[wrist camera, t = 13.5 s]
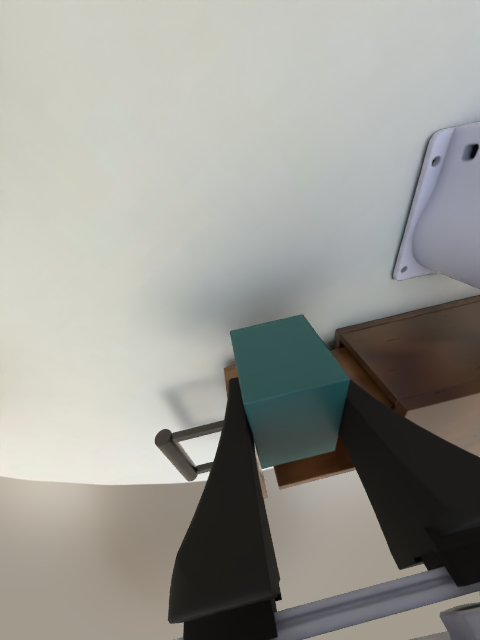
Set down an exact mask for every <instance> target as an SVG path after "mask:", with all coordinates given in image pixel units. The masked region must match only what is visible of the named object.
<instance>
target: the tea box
mask: <svg viewBox="0 0 480 640" xmlns="http://www.w3.org/2000/svg"><path fill="white" fill-rule="evenodd" d="M230 335H231V340H232V346H233V351H234V356H235V362H236V367H237V372H238V378H239V383H240V389H241V394H242V399H243V404H244V408H245V412H246V415H247V419H248V422H249V426H250V429H251V433H252V437H253V440H254V444H255V447H256V451H257V454H258V458H259V462H260V465H261V468H262V469H264V468H268V467H272V466H276V465H280V464H284V463H288V462H292V461H296V460H300V459H304V458H308V457H312V456H316V455H320V454H324V453H328V452H332V451H334V450H335V447H336V443H337V438H338V433H339V428H340V424H341V419H342V414H343V409H344V405H345V400H346V395H347V390H348V386H349V381H350V379H349V377H348V375H347V374H346V373H345V371H344V370H343V369H342V367H341V366H340V364H339V363H338V362H337V360H336V359H335V358H334V356H333V355H332V354H331V352H330V351H329V349H328V348H327V347H326V345H325V344H324V343H323V341H322V340H321V338H320V337H319V336H318V334H317V333H316V332H315V330H314V329H313V328H312V326H311V325H310V323H309V322H308V321H307V319H306V318H305V317H304V315H297V316H293V317H289V318H284V319H280V320H276V321H271V322H267V323H263V324H259V325H254V326H250V327H246V328H241V329H237V330H233V331H230Z"/></svg>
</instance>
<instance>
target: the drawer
mask: <svg viewBox="0 0 480 640" xmlns="http://www.w3.org/2000/svg"><path fill="white" fill-rule="evenodd" d="M330 352H331V354H332V355H333V356H334V358H335V359H336V360H337V362H338V363H339V364H340V366H341V367H342V369H343V370H344V371H345V373H346V374H347V375H348V377H349V378H350V379H351V380H352V381H354V382H355V383H356V384H357V385H359V386H360V387H361V388H363V389H364V390H365V391H367V392H368V393H369V394H371V395H372V396H373V397H375V398H376V399H378V400H379V401H381V402H382V403H383V404H385V405H386V406H388V407H389V408H391V409H392V410H395V408H396V406H395V405H394V404H393V403H392V401H391V400H390V399H389V398H388V397H387V395H386V394H385V393H384V392H383V391H382V390H381V388H380V387H379V386H378V385H377V384H376V383H375V381H374V380H373V379H372V378H371V377H370V375H369V374H368V373H367V372H366V371H365V370H364V368H363V367H362V366H361V365H360V364H359V362H358V361H357V360H356V359H355V358H354V357H353V355H352V354H351V353H350V352H349V351H348V349H347V348H346V347H343V348H339V349H335V350H330ZM224 374H225V382H226V390H227V398H228V389H229V380H230V379H231V378H235V377H238V372H237V367H236V365H235V366H231V367H227V368H224ZM223 424H224V420H223V421H219V422H215V423H211V424H207V425H203V426H199V427H195V428H191V429H187V430H183V431H178V432H174V433H173V434H172V433H171V431H170V430H168V429H163V430H161V431H160V432H159V433H158V434H157V435H156V437H155V444H156V446H157V447H158V448H159V449H160V450H161V451H162V452H163V454H164V455H165V456H166V457H167V458H168V459H169V460H170V462H171V463H172V464H173V465H174V466H175V467H176V468H177V470H178V471H179V472H180V473H181V474H182V475H183V476H184V478H185V479H186V480H187V481H193V480H194V479H195V478H196V477H197V475H198V474H200V473H204V472H208V471H211V468H212V465H213V462H210V463H206V464H202V465H198V466H196V465H195V464H194V463H193V461H192V460H191V459H190V457H189V456H188V455H187V453H186V452H185V450H184V449H183V448H182V446H181V445H180V444H179V441H183V440H187V439H191V438H195V437H199V436H204V435H208V434H212V433H216V432H220V431H222V428H223ZM254 447H255V444H254ZM255 455H256V462H257V469H258V474H259V479H260V484H261V489H262V494H263V499H265V498H267V497H268V496H267V491H266V486H265V482H264V477H263V472H262V468H261V465H260V462H259V458H258V454H257V451H256V447H255ZM274 470H275V474H276V478H277V482H278V486H279V489H284V488H288V487H292V486H296V485H299V484H303V483H307V482H311V481H315V480H319V479H323V478H327V477H330V476H334V475H338V474H342V473H346V472H350V471H354V470H356V468H355V466H354V464H353V462H352V460H351V458H350V455H349V453H348V451H347V449H346V447H345V445H344V443H343V441H342V439H341V438H340V436H339V434H338V438H337V443H336V447H335V450H334V451H332V452H328V453H324V454H320V455H316V456H312V457H308V458H304V459H300V460H296V461H292V462H288V463H284V464H280V465H276V466H274Z"/></svg>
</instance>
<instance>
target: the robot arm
mask: <svg viewBox="0 0 480 640" xmlns="http://www.w3.org/2000/svg"><path fill="white" fill-rule="evenodd" d="M434 158H435V160H434V163H433V164H432V161H433V159H434ZM435 272H439V273H441V274H444V275H446V276H449V277H451V278H454V279H456V280H459V281H461V282H464V283H466V284H468V285H471V286H473V287H476V288H478V289H480V122H475V123H470V124H466V125H461V126H456V127H452V128H447V129H442V130H439V131H437V132H436V133H435V134H433V136H432V137H431V139H430V142H429V145H428V148H427V152H426V156H425V159H424V163H423V167H422V170H421V174H420V178H419V181H418V185H417V189H416V192H415V196H414V200H413V203H412V207H411V211H410V214H409V218H408V222H407V226H406V229H405V233H404V237H403V240H402V244H401V248H400V251H399V255H398V259H397V262H396V266H395V270H394V273H393V278H394V279H395V280H397V281H401V280H405V279H409V278H414V277H418V276H422V275H427V274H431V273H435ZM349 379H350V378H349ZM338 434H339V436H340V438H341V439H342V441H343V443H344V445H345V447H346V449H347V451H348V453H349V455H350V458H351V460H352V462H353V464H354V466H355V468H356V470H357V473H358V475H359V477H360V479H361V482H362V484H363V486H364V488H365V491H366V493H367V495H368V498H369V500H370V502H371V505H372V507H373V509H374V512H375V514H376V517H377V519H378V522H379V524H380V526H381V529H382V531H383V534H384V536H385V539H386V541H387V544H388V546H389V549H390V552H391V554H392V556H393V558H394V560H395V562H396V564H397V566H398V568H399V569H400V570H401V569H405V568H409V567H413V566H416V565H420V564H425V566H426V568H427V570H428V571H426V572H422V573H419V574H415V575H411V576H407V577H403V578H400V579H396V580H393V581H389V582H385V583H381V584H378V585H374V586H370V587H367V588H363V589H359V590H356V591H352V592H348V593H344V594H341V595H337V596H333V597H330V598H326V599H322V600H319V601H315V602H311V603H307V604H304V605H301V606H297V607H293V608H289V609H285V610H282V611H278V612H277V610H276V603H275V601H278V600H282V598H281V592H280V587H279V581H280V576H279V572H278V567H277V562H276V557H275V552H274V548H273V543H272V538H271V533H270V528H269V524H268V519H267V514H266V509H265V504H264V499H263V494H262V489H261V484H260V479H259V474H258V469H257V462H256V455H255V447H254V440H253V437H252V433H251V429H250V426H249V422H248V419H247V415H246V412H245V408H244V404H243V399H242V394H241V389H240V383H239V378H238V377H235V378H231V379H230V380H229V389H228V400H227V407H226V413H225V419H224V424H223V428H222V432H221V437H220V441H219V445H218V448H217V452H216V455H215V459H214V462H213V465H212V468H211V471H210V474H209V477H208V480H207V483H206V486H205V489H204V491H203V494H202V496H201V499H200V501H199V504H198V506H197V509H196V512H195V514H194V516H193V519H192V521H191V524H190V526H189V528H188V530H187V533H186V535H185V537H184V539H183V542H182V544H181V546H180V549H179V551H178V553H177V556H176V560H175V565H174V569H173V574H172V580H171V587H170V597H169V612H168V621H169V623H182V622H184V633H183V637H182V638H178V639H174V640H303V639H306V638H310V637H313V636H317V635H321V634H324V633H328V632H332V631H335V630H339V629H342V628H346V627H349V626H353V625H357V624H360V623H364V622H367V621H371V620H375V619H379V618H382V617H386V616H389V615H393V614H397V613H401V612H404V611H408V610H411V609H415V608H419V607H422V606H426V605H430V604H433V603H437V602H440V601H444V600H448V599H451V598H455V597H458V596H462V595H466V594H470V593H473V592H477V591H480V457H478V456H476V455H474V454H472V453H470V452H468V451H466V450H464V449H462V448H460V447H458V446H456V445H454V444H452V443H450V442H448V441H446V440H444V439H442V438H441V437H439V436H437V435H435V434H433V433H431V432H430V431H428V430H426V429H424V428H422V427H420V426H419V425H417V424H415V423H414V422H412V421H410V420H409V419H407V418H405V417H404V416H402V415H400V414H399V413H397V412H396V411H394V410H392V409H391V408H389V407H388V406H386V405H385V404H383V403H382V402H381V401H379V400H378V399H376V398H375V397H373V396H372V395H371V394H369V393H368V392H367V391H365V390H364V389H363V388H361V387H360V386H359V385H357V384H356V383H355V382H354V381H352V380H351V379H350V381H349V386H348V390H347V395H346V400H345V405H344V409H343V414H342V419H341V424H340V428H339V433H338ZM440 618H441V620H442V622H443V623H444V625H445V627H446V629H447V632H442V633H437V634H433V635H428V636H424V637H419V638H415V639H410V640H480V602H479V603H471V604H464V605H460V606H456V607H453V608H450V609H448V610H446V611H443V612H440Z"/></svg>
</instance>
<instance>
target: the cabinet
mask: <svg viewBox="0 0 480 640" xmlns="http://www.w3.org/2000/svg"><path fill="white" fill-rule="evenodd" d="M343 347H346V348H347V349H348V351H349V352H350V353H351V354H352V355H353V357H354V358H355V359H356V360H357V361H358V362H359V364H360V365H361V366H362V367H363V368H364V370H365V371H366V372H367V373H368V374H369V375H370V377H371V378H372V379H373V380H374V381H375V383H376V384H377V385H378V386H379V387H380V388H381V390H382V391H383V392H384V393H385V394H386V395H387V397H388V398H389V399H390V400H391V401H392V403H393V404H394V405H395V406H396V408H395V410H394V411H396V412H397V413H399V414H400V415H402V416H404V417H405V418H407V419H409V420H410V421H412V422H414V423H415V424H417V425H419V426H420V427H422V428H424V429H426V430H428V431H430V432H431V433H433V434H435V435H437V436H439V437H441V438H442V439H444V440H446V441H448V442H450V443H452V444H454V445H456V446H458V447H460V448H462V449H464V450H466V451H468V452H470V453H472V454H474V455H476V456H478V457H479V456H480V295H479V296H475V297H471V298H467V299H463V300H458V301H454V302H450V303H446V304H442V305H437V306H433V307H429V308H425V309H421V310H416V311H412V312H408V313H404V314H400V315H396V316H391V317H387V318H383V319H379V320H375V321H370V322H366V323H362V324H358V325H354V326H349V327H345V328H341V329H337V330H336V337H335V345H334V350H335V349H339V348H343Z"/></svg>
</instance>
